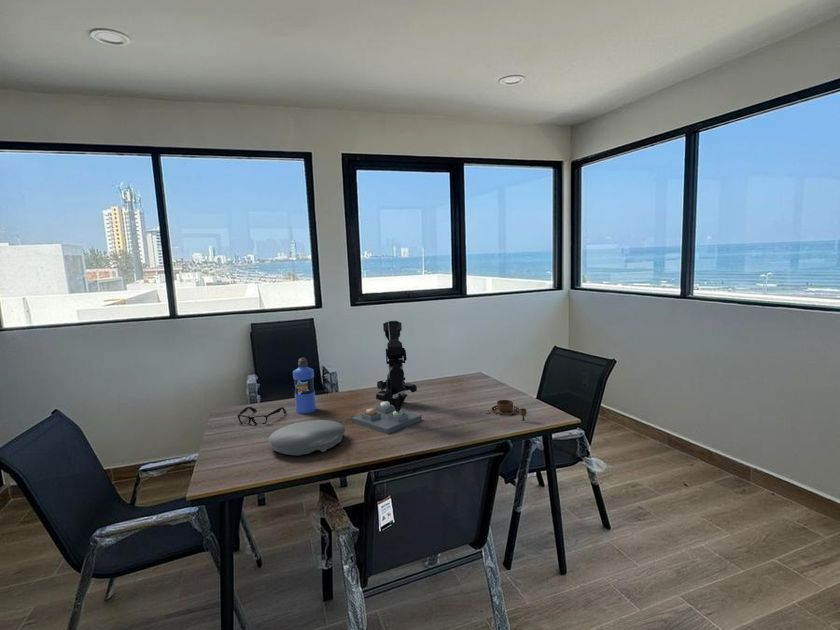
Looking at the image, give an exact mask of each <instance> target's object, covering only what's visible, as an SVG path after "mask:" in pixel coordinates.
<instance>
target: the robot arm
mask: <svg viewBox="0 0 840 630" xmlns="http://www.w3.org/2000/svg"><path fill="white" fill-rule="evenodd" d="M402 325H403V324H402V321H401V322H400V321H398V320H388V321H385V322H383V325H382V328H383V330H382V331H383V333H384V334H385V335H384V337H385V338H386V339H387V341H388V342H387V344H386V348H385V361H386V365H388V373H387V376H386V379H385V381H384V380H379V381H377V382H376V387H377V389H378V390H380V391H377V392H376V393H375V400H377V401H381V402H390V405H393V406H394V408H395V410H396V412H399V411H400V410H402V406H403V404H405V400H406V398H408V396H409V395H408V394H406V392H408V391H410V393H415V392H418V390H417V389H418V387H417V385H416V384H415V383H410V382H405V381H406V376H405V371H404V367H403V364H406V361H407V350H406V349H405V347H403V342H402V341H400V339H399V338H400V337H401V332H402V330H403V326H402Z"/></svg>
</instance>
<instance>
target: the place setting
mask: <svg viewBox="0 0 840 630" xmlns="http://www.w3.org/2000/svg"><path fill="white" fill-rule="evenodd" d="M496 407H497V409H498V411H500V412H498V411H495V410H493V409H494V408H496ZM513 407H514V408H516V409H518V411H516V410H515V412H509V411H512V410H514V409H513ZM501 411H502V412H501ZM503 412H508V413H503ZM491 413H493V414H494V413H496V414H495V415H497V414H500V415H499V416H502V415H510V416H513V415H512V414H515V415H517V414H518V413H520V416H521V417H522V421H525V419H526V418H525V417H527V408H525V407H524V408H523V407H522V408H519V407H518V406H515V405H514V402H513V400H510V399H499V400H497V401H496V405H494V406H491ZM516 413H517V414H516Z"/></svg>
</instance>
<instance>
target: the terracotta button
mask: <svg viewBox="0 0 840 630" xmlns="http://www.w3.org/2000/svg"><path fill="white" fill-rule="evenodd" d="M365 412H366V415H369V416H372V415H375V414H376V408H374V407H371V408H367V409H366V410H365Z"/></svg>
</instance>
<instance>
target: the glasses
mask: <svg viewBox="0 0 840 630" xmlns="http://www.w3.org/2000/svg"><path fill="white" fill-rule="evenodd" d="M248 409H249V410H250V411H252V412H253V413H256V412H258V411H257V409H256V408H254V407H252V406H247V407H245V408H244V409H242V410H241V411H240V412H239V413H238V414H237V415H236V417H237V418H238V421H239V423H241V424H242V423H244V424H243V425H250V423H251V422H252V423H253V424H254V425H259V423H258V422H257V421H256V420H255V418H260V417H261V418H263V417H264V419H265V421H264V422H263V423H260V425H265V424H266V423H267V422H268V418H269V417H270V416H273V415H275V414H277V413H280V412H281V411H283V413H285V412H286V409H285V408H284V406H283V407H278V408H277V409H274V411H272V412H270V413H268V414H265V415H263V414H262V415H256V416H248V415H243V414H244V413H246V412H247V411H248ZM255 411H256V412H255ZM241 417H244V418H247V419H248V423H245V422H243V421H242V420H241Z"/></svg>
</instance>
